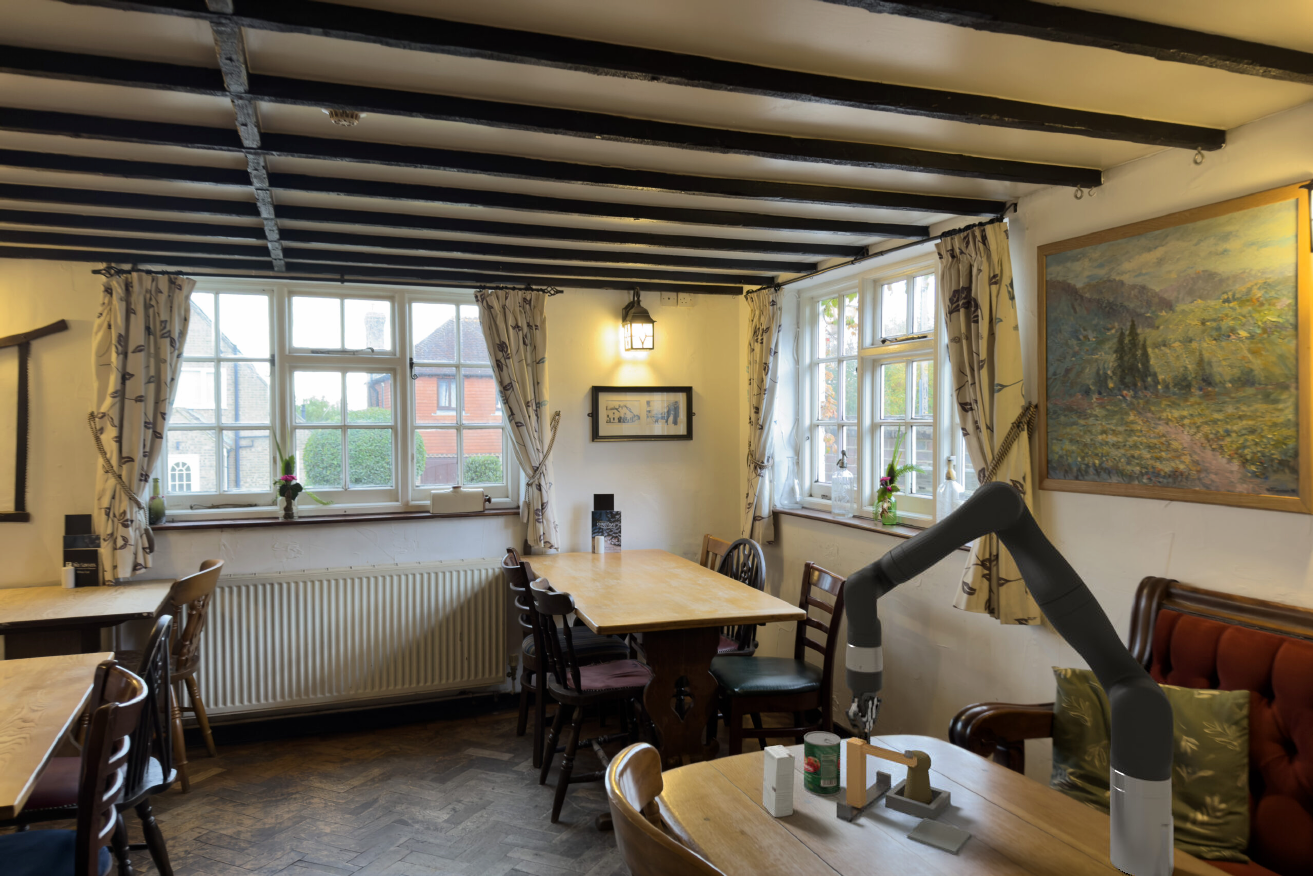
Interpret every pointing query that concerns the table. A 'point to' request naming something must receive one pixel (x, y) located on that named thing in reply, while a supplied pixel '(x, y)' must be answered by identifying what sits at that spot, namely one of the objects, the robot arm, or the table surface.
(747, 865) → the table surface
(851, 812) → the rail
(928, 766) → the cork
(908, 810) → the socket
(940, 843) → the coaster
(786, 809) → the skincare box
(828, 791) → the canned tomato
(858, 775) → the orange angled bracket
